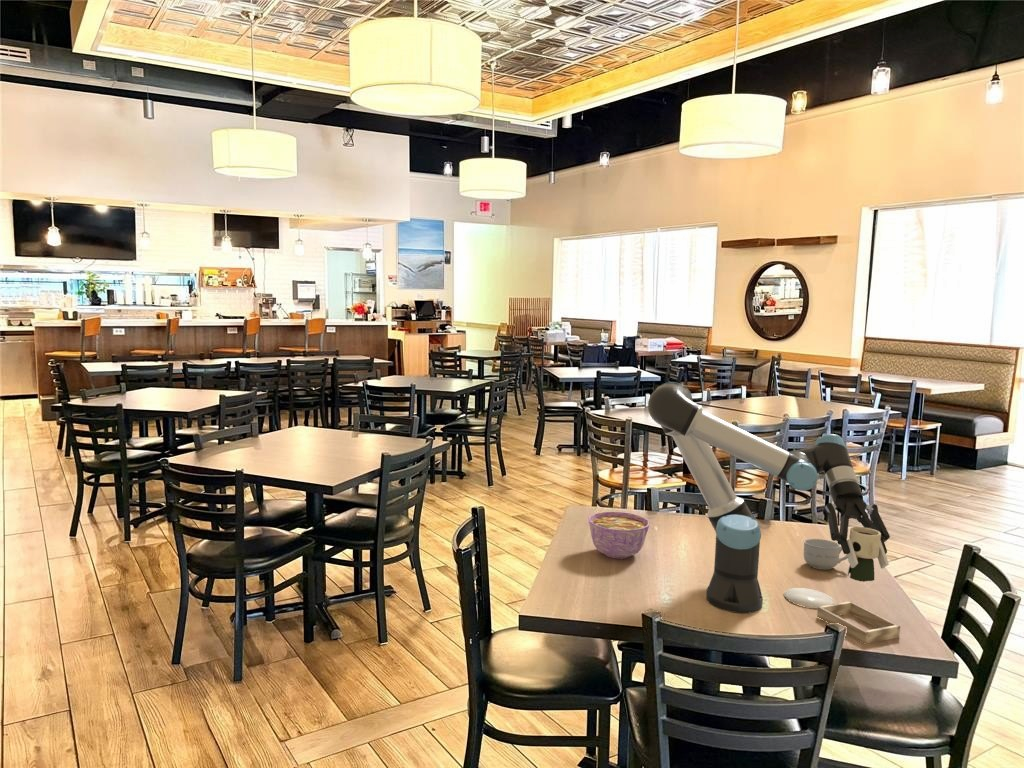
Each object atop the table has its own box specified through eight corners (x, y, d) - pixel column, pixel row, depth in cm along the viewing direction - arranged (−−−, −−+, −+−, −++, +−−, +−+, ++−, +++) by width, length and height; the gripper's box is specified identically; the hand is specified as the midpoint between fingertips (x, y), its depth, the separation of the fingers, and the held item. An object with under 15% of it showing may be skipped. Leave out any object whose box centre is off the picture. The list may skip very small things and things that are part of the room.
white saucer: (807, 611, 193) (807, 609, 193) (774, 592, 205) (774, 590, 205) (844, 605, 197) (844, 603, 197) (809, 587, 209) (809, 585, 209)
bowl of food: (660, 561, 228) (661, 526, 226) (605, 568, 220) (607, 532, 219) (627, 541, 246) (629, 509, 245) (576, 547, 239) (577, 514, 237)
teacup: (800, 568, 225) (802, 544, 224) (803, 558, 234) (805, 534, 233) (848, 577, 218) (850, 552, 217) (850, 566, 228) (852, 542, 227)
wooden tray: (864, 644, 175) (865, 632, 174) (817, 617, 189) (817, 606, 189) (899, 637, 179) (900, 626, 178) (850, 611, 193) (850, 601, 193)
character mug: (837, 570, 188) (841, 523, 186) (863, 571, 188) (868, 524, 186) (857, 587, 177) (862, 537, 176) (885, 588, 177) (890, 538, 176)
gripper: (873, 494, 196) (901, 572, 182) (802, 492, 195) (824, 571, 181) (886, 480, 190) (915, 560, 176) (812, 478, 189) (836, 558, 175)
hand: (869, 565), depth 179 cm, fingers closed on character mug, 7 cm apart
